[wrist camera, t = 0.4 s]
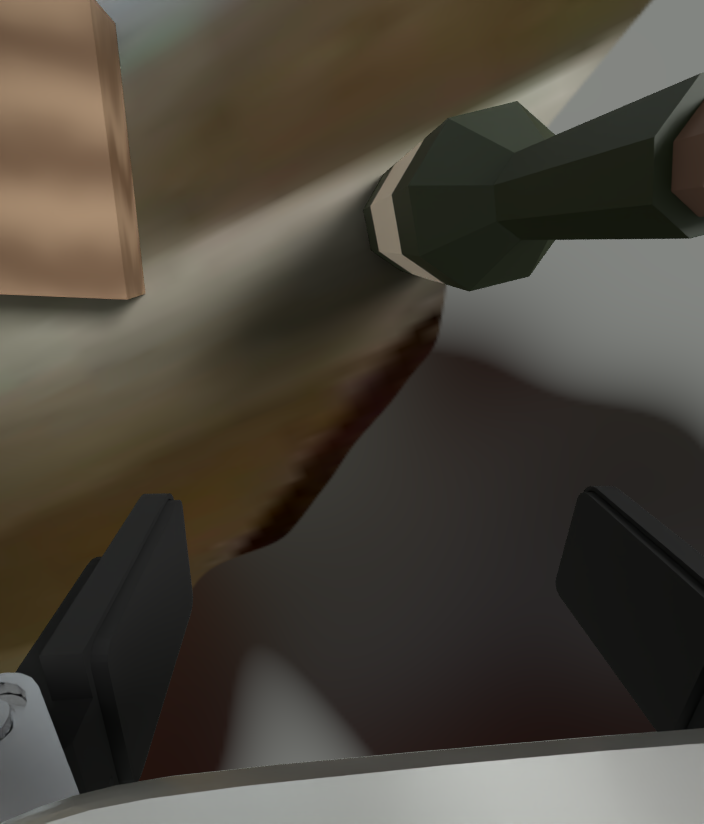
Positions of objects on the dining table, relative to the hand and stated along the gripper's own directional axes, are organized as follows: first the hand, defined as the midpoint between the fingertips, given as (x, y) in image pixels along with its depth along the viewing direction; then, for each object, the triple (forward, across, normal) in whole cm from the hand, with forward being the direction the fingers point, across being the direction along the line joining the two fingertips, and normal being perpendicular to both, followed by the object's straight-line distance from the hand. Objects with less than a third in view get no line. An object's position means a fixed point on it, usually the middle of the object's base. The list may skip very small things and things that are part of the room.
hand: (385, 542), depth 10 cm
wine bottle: (+31, -7, -8) cm, 33 cm away
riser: (+31, +24, -11) cm, 40 cm away
